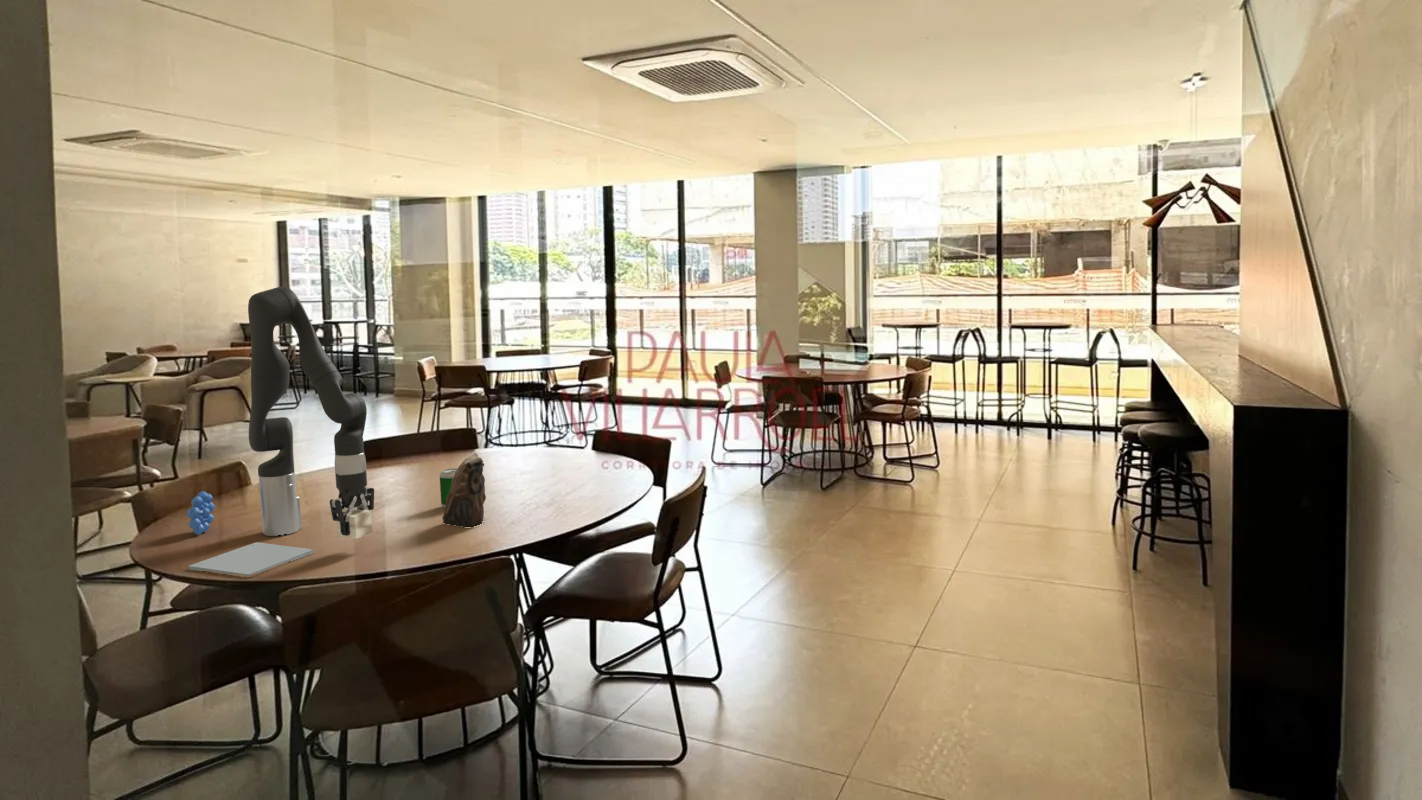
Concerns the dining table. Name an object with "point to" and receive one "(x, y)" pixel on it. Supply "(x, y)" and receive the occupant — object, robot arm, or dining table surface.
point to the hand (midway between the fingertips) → (355, 531)
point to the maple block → (357, 524)
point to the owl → (466, 494)
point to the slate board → (251, 559)
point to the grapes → (201, 512)
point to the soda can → (446, 483)
